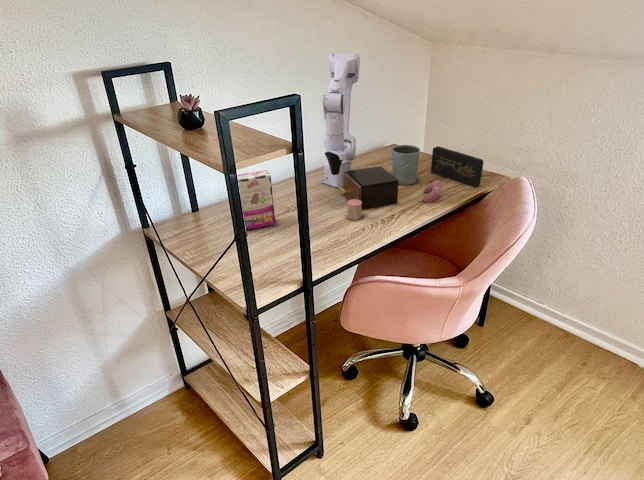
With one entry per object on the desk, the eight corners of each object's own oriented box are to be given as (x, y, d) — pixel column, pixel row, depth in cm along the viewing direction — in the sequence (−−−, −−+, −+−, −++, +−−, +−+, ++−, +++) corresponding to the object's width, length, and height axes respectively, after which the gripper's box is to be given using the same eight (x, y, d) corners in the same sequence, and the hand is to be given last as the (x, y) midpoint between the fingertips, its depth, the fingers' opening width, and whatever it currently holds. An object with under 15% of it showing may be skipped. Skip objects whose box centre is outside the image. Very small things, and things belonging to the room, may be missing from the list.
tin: (344, 218, 156) (344, 203, 153) (351, 212, 160) (351, 198, 157) (357, 221, 154) (357, 206, 151) (364, 216, 158) (364, 201, 155)
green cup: (417, 186, 178) (419, 154, 171) (389, 184, 179) (390, 152, 173) (417, 176, 186) (420, 145, 180) (391, 174, 187) (392, 143, 181)
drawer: (348, 211, 160) (348, 188, 156) (333, 195, 171) (333, 173, 166) (393, 203, 165) (394, 181, 161) (375, 188, 176) (376, 167, 171)
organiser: (362, 209, 161) (362, 185, 157) (346, 193, 172) (346, 171, 168) (397, 203, 165) (398, 180, 161) (379, 188, 176) (380, 166, 172)
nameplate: (430, 172, 190) (433, 146, 184) (433, 170, 191) (436, 145, 185) (476, 187, 177) (480, 161, 171) (479, 186, 178) (483, 159, 172)
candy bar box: (271, 218, 156) (266, 169, 147) (275, 225, 152) (271, 175, 143) (236, 225, 152) (229, 174, 143) (240, 232, 148) (233, 180, 140)
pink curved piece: (433, 207, 166) (444, 191, 162) (421, 201, 166) (432, 184, 162) (434, 196, 174) (445, 180, 170) (423, 189, 174) (434, 173, 170)
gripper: (355, 138, 150) (355, 180, 157) (337, 125, 161) (338, 164, 168) (334, 141, 148) (334, 183, 155) (317, 127, 159) (318, 167, 166)
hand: (335, 174), depth 162 cm, fingers closed
